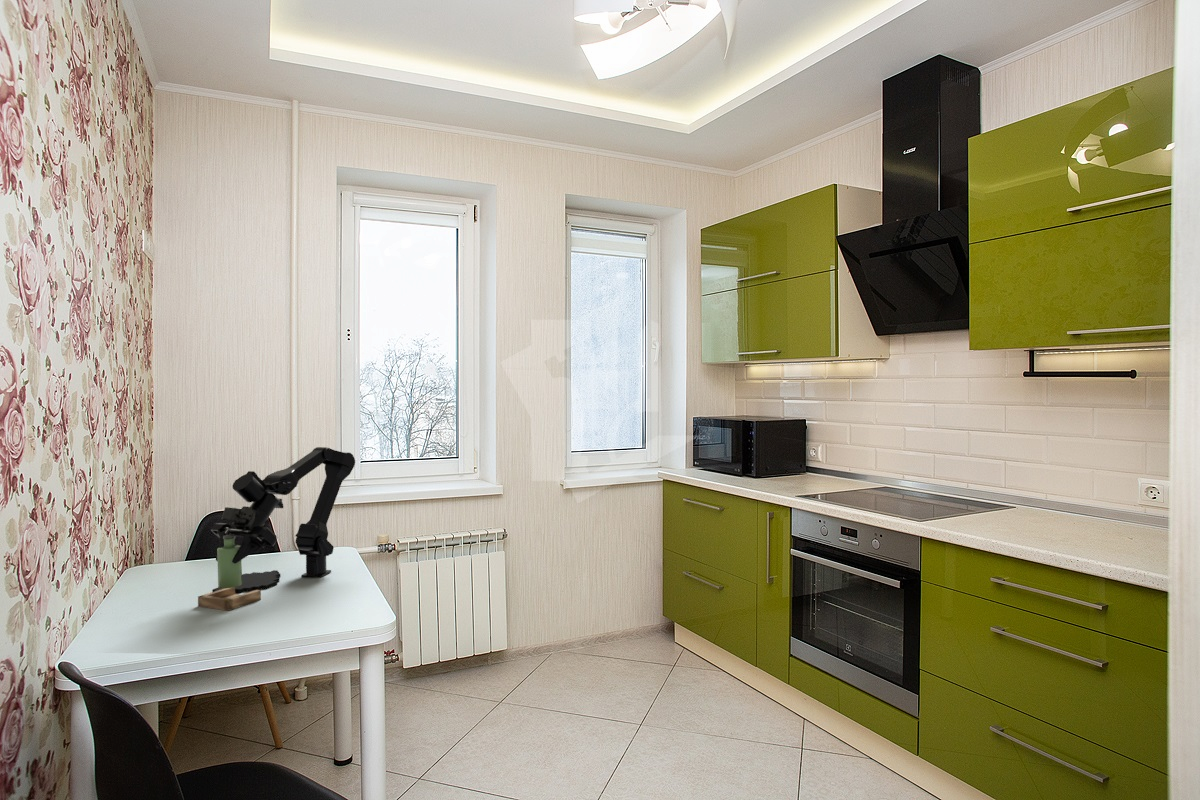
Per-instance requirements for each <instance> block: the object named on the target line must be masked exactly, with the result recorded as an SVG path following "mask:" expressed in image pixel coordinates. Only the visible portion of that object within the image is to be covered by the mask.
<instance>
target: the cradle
mask: <svg viewBox="0 0 1200 800" xmlns="http://www.w3.org/2000/svg"><path fill="white" fill-rule="evenodd" d="M261 590H262V589H261ZM261 590H253V591H250V592H244V593H241V594H240V593H235V587H234V588H225V589H222V590H218V591H215V592H212V591H211V592H210V593H205V594H203V595H199V596H197V606H198V607H200V608H201V607H202V608H209V609H215V610H221V611H228V612H229V611H233V609H236V608H240V607H243V606H246V605H249V604H251V603H255V602H258V601H260V600H262V596H261V595H262V594H261V593H262V591H261Z"/></svg>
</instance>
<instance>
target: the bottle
mask: <svg viewBox="0 0 1200 800" xmlns="http://www.w3.org/2000/svg"><path fill="white" fill-rule="evenodd" d="M234 538H235V534H228V535H224V536H223V539H224V547H220V548H219V547H218V548H216V549H217V550H216V551H217V552H216V553H217V554H216V556H217V561H218V562H217V561H216V562H217V588H234V587H238V586H240V585H242V574H243V565H242V561H243V559H242V560H240V561H239V562H237V563H236V564H235V563H233V562H232V560H233V558H234V556H235V555H236V553H237V551H238V550H239V548H240V546H241V545H239V544H238V545H234Z"/></svg>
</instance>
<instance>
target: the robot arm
mask: <svg viewBox="0 0 1200 800" xmlns="http://www.w3.org/2000/svg"><path fill="white" fill-rule="evenodd" d="M322 464H323V465H324V472H325V479H324V482H323V485H322V487H321V490H320V493H319V495H318V498H317V501H316V503H315V506H314V508H313V511H312V513H311V516H310V519H309V520H308V521H307V522H306V523H300V525H299V527H298V530H297V533H296V534H295V538H296V539H295V544H296V547H297V550H298V553H299V555H300V556H302V555H304V556H305V573H303V574H301V577H302V578H322V577H325V576H326V575H328V574H330V573H331V572H332V569H327V557H328V556H330V555H332V554H333V552H334V548H335V547H334V546H333V544H332V543H331V542H330V540H329V541H328V537H329V530H328V526H327V525H328V521H329V518H330V516H331V513H332V509H333V507H334V505H335V502H336V500H337V496H338V493H339V491H340V488H341V485H342V483H343V481H344V480H345V479H346V478H348V476H349V475H351V473H352V472H353V469H354V467H355V465H356V459H355V457H354V454H352V453H351V452H347V451H346V452H345V451H339V450H336V449H332V448H330V447H324V446H323V447H321V446H317V447H315V448H313V449H312V451H310V452H309V453H307V454H306V455H305V456H303V457H301V458H300V459H299V460H297V461H296V462H294V463H293V464H291V465H290V466H288V467H287V468H284V469H280V470H276V471H274V472H273V473H269V474H268V475H266V476H265V477H264V479H261V478H260V477H259V476H258V474H257V473H256V471H251V470H248V471H247V472H246V473H245V474H243V475H241V476H240V477H238V478H237V479H235V480H234V482H233V484H232V490H233V491H235V493H237V495H239V496H240V497H241V498H242V499H243V500H244V502H246V503H250V506H242V507H241V508H237V507H224V510H223V513H222V516H221V520H223V521H229V522H231V524H229V523H224V522H216V523H214V524H213V525H212V527H211V528H210V532H212V533H213V534H214V535H215V536H216V537H217V538H218V539H219V546H218V548H220V547H224V539H223V536H224V535H228V534H235V538H234V545H239V544H238V542H236V541H237V539H238V538H242V542H241V545H239V546H240V548H239V550H238V551H237V553H236V555H235V556H234V558H233V560H232V562H233V563H235V564H236V563H237V562H239V561H240V560H242V561H243V560H244V559H245V558H247V557H249V555H252V554H253V553H255V552H257V551H258V550H260V549H264V548H265V547H274V545H275V544H276V543H277V541H278V538H277V537H278V536H277V535H276V533H274V532H273V531H272V530H271V529H270V528H269V527H268V525H269V523H270V521H269V520H268V519H269V518H270V517H271V515H272V514H273V511H274V510H275V509H284V503H283V499H282V498H277V497H276V495H277V496H278V495H279V496H287V495H290V493H291V492H293V491H294V489H295V488H296V487H298V483H299V482H300V480H301V479H303V478H304V477H305V476H306V475H308V474H310V473H311V472H312V471H313V470H315V469H316V468H317V467H319V466H321V465H322ZM264 525H265V526H264ZM233 527H235V528H233ZM215 561H216V562H217V563H218V561H217V555H216V556H215Z"/></svg>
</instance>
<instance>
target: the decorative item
mask: <svg viewBox="0 0 1200 800" xmlns="http://www.w3.org/2000/svg"><path fill="white" fill-rule="evenodd" d="M280 578H281V573H280V572H279V570H275V569H274V570H271V571H263V572H258V571H257V572H255V571H254V572H253V571H252V572H251V573H242V585H240V586H238V587H235V594H243V593H248V592H252V591H255V590H269V589H270V588H273V587H276V586H277V585H278V583H280ZM222 589H225V588H218V587H215V588H213V589H212V591H211V593H212V592H215V591H218V590H222Z"/></svg>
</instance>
